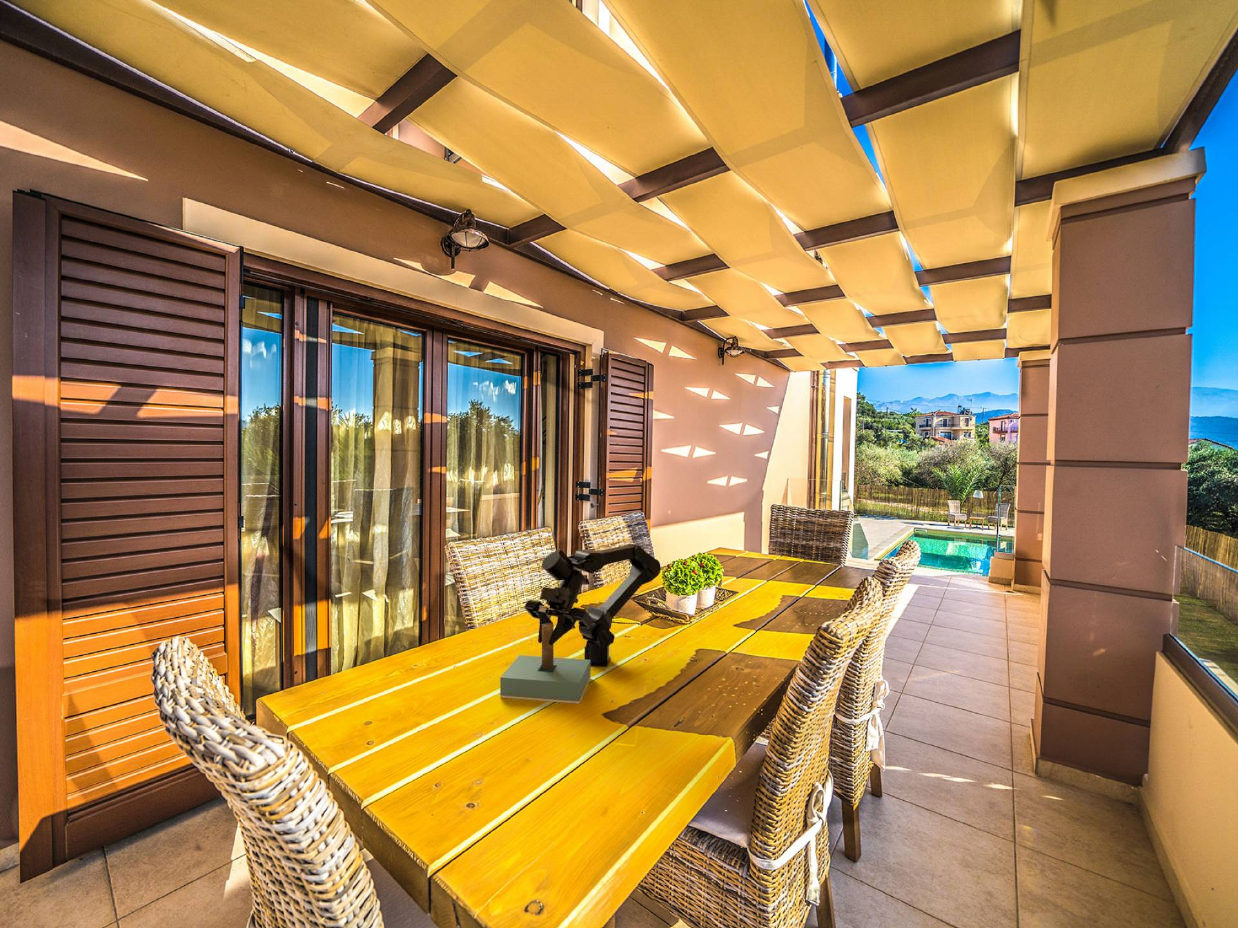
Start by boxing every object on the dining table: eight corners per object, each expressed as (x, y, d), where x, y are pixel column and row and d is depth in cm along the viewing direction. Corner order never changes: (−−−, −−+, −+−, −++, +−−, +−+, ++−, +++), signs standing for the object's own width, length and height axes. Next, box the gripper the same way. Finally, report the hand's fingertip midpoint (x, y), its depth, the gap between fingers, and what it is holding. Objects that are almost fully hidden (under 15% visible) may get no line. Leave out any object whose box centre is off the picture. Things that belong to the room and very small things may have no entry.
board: (590, 678, 136) (590, 659, 136) (579, 703, 122) (579, 683, 122) (519, 672, 139) (519, 654, 139) (500, 697, 125) (500, 677, 125)
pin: (554, 664, 132) (554, 623, 132) (551, 669, 129) (551, 627, 129) (543, 664, 132) (543, 622, 132) (540, 668, 129) (540, 626, 129)
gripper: (528, 570, 138) (501, 622, 129) (586, 578, 129) (562, 635, 120) (545, 591, 145) (521, 642, 136) (601, 601, 136) (579, 656, 127)
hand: (544, 643), depth 129 cm, fingers closed on pin, 3 cm apart
